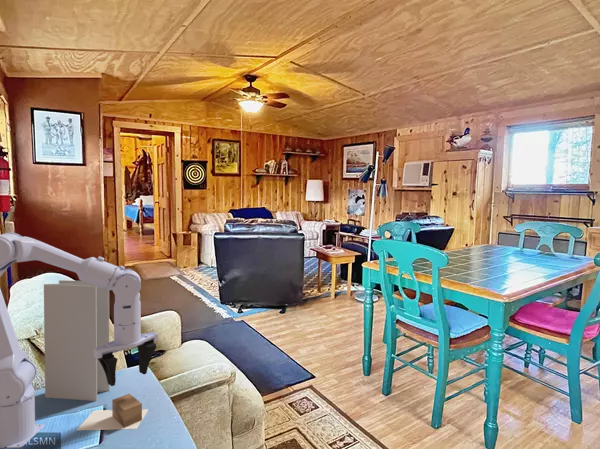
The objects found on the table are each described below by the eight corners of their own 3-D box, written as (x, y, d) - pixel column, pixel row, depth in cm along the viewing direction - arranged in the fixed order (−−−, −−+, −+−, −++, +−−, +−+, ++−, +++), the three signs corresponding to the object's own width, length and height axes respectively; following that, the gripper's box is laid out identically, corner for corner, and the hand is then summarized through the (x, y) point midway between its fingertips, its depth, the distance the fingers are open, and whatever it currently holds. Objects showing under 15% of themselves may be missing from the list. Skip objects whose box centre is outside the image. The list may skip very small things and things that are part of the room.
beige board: (76, 432, 82) (76, 430, 82) (93, 412, 90) (93, 410, 90) (136, 430, 82) (136, 428, 82) (148, 411, 90) (148, 409, 90)
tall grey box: (110, 392, 100) (109, 282, 98) (96, 402, 94) (95, 286, 93) (61, 388, 101) (59, 280, 100) (45, 399, 95) (43, 284, 94)
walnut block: (141, 420, 86) (141, 403, 86) (124, 427, 83) (124, 410, 83) (129, 409, 90) (129, 393, 90) (112, 416, 87) (112, 399, 87)
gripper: (147, 312, 95) (147, 364, 96) (87, 325, 83) (87, 384, 84) (162, 317, 91) (162, 371, 91) (101, 332, 79) (102, 394, 80)
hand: (127, 378), depth 87 cm, fingers open, 7 cm apart
